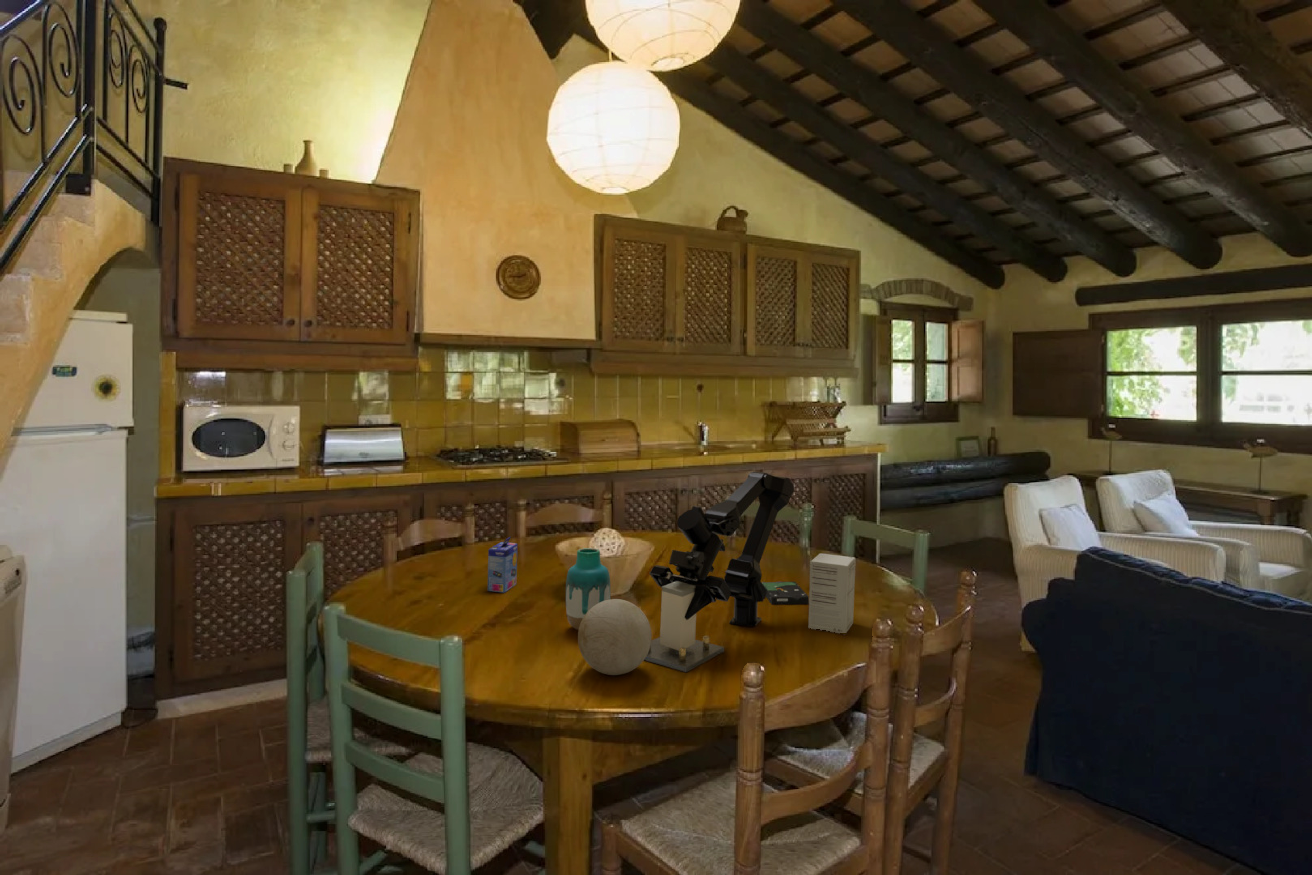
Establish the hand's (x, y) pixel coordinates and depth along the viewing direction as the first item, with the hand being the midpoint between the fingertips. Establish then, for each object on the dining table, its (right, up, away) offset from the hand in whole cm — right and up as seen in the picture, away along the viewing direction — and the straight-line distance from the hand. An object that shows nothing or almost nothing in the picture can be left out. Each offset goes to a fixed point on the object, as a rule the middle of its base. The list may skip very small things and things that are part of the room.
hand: (673, 615), depth 164 cm
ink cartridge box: (-47, -4, +51) cm, 69 cm away
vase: (-20, -7, +17) cm, 27 cm away
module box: (+1, -7, +2) cm, 7 cm away
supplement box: (+39, -8, +22) cm, 45 cm away
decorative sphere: (-12, -10, -9) cm, 18 cm away
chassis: (+1, -9, +2) cm, 9 cm away
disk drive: (+32, -6, +46) cm, 56 cm away
